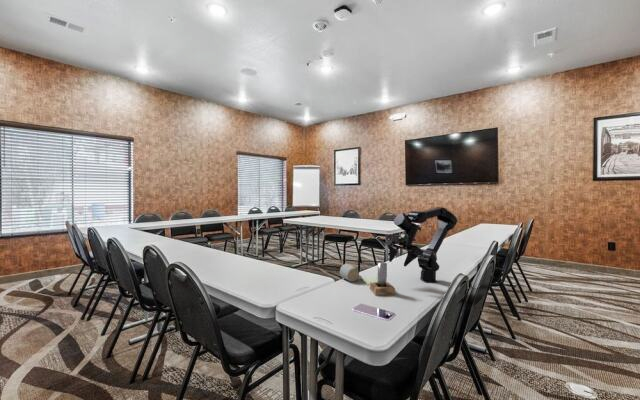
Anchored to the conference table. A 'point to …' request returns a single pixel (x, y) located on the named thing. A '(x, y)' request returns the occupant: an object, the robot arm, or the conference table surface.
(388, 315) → the mobile phone
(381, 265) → the peg
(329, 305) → the conference table surface
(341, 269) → the ceramic mug
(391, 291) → the wooden peg socket
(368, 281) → the coaster
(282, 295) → the conference table surface
